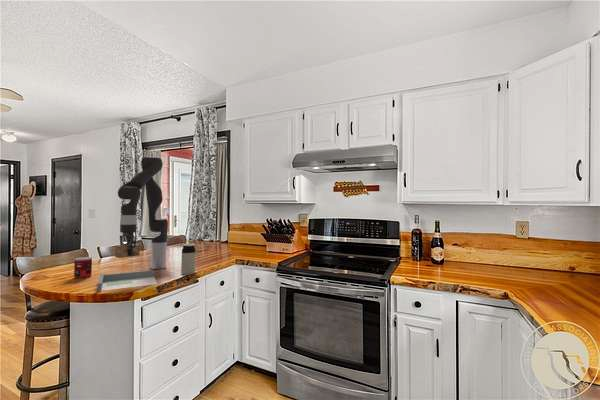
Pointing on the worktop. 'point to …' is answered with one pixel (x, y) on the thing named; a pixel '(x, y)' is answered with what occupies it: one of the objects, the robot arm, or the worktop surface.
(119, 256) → the walnut block
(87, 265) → the canned food
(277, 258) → the worktop surface
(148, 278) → the tray
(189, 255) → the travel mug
